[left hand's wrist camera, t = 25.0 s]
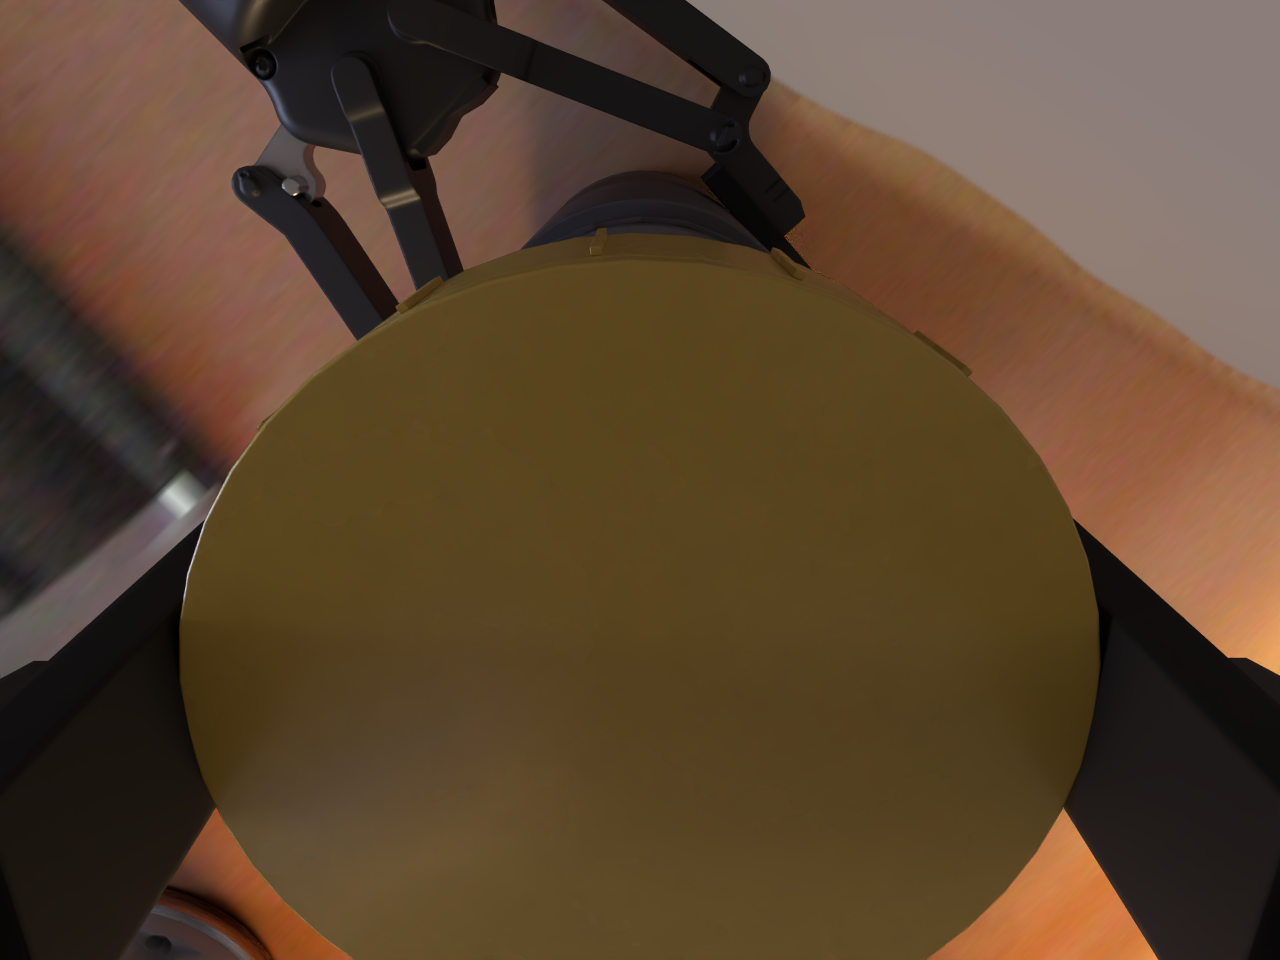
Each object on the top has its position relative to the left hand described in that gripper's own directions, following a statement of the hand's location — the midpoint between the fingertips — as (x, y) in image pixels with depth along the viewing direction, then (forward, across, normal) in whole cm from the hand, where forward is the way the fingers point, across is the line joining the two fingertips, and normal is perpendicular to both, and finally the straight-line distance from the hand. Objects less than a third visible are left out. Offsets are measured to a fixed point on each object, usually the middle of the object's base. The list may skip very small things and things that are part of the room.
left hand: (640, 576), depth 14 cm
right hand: (+20, -3, +3) cm, 20 cm away
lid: (-3, 0, 0) cm, 3 cm away
